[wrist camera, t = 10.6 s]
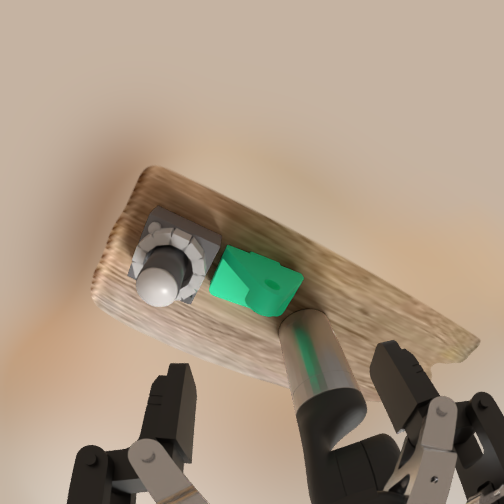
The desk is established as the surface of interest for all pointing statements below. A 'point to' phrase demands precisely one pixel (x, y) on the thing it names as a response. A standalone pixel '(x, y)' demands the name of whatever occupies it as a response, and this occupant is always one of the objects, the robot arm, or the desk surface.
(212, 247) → the segmented ring socket plate
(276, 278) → the camera mount
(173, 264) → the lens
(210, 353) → the desk surface
